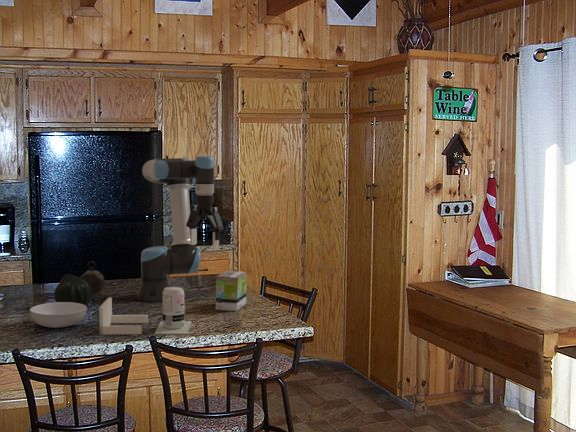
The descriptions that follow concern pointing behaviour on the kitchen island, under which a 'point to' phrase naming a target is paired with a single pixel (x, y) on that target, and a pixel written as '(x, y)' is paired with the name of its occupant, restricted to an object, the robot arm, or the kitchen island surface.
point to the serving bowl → (58, 314)
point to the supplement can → (173, 307)
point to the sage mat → (173, 331)
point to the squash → (72, 290)
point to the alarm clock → (94, 280)
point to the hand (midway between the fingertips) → (204, 246)
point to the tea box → (231, 290)
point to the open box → (118, 321)
